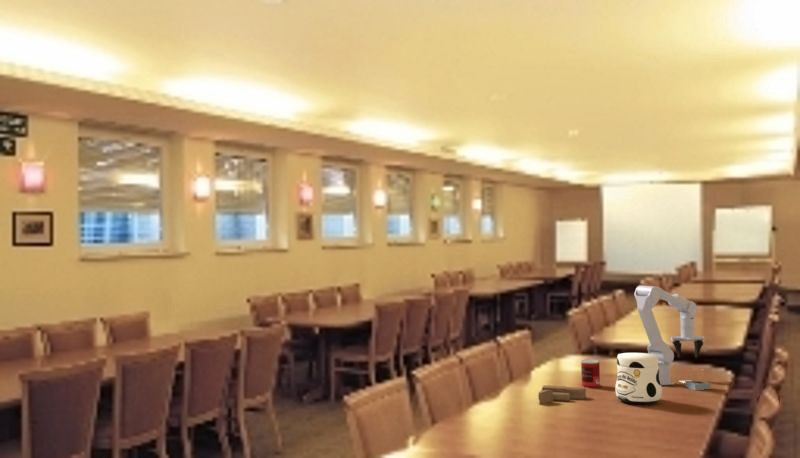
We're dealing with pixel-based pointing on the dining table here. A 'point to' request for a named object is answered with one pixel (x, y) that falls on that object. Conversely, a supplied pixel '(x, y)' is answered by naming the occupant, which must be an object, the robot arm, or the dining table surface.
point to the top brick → (698, 375)
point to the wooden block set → (560, 393)
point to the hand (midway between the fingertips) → (688, 357)
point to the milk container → (638, 378)
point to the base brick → (697, 385)
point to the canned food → (590, 373)
